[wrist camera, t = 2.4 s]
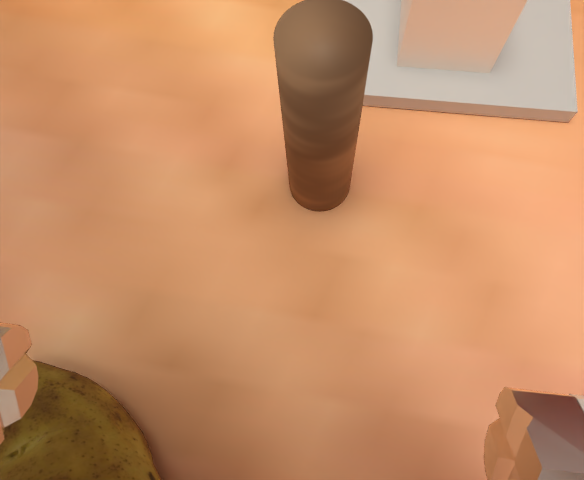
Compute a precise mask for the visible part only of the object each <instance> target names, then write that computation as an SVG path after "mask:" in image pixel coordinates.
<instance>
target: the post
mask: <svg viewBox="0 0 584 480" xmlns="http://www.w3.org/2000/svg"><path fill="white" fill-rule="evenodd" d="M372 42H373V32H372V28H371V25H370V22H369V20H368V19H367V17H366V16H365V15H364V14H363V12H362V11H361V10H359V9H358V8H357V7H355V6H354V5H352V4H350V3H348V2H346V1H343V0H305V1H302V2H300V3H297V4H296V5H294V6H292V7H291V8H290V9H288V10H287V11H286V12H285V13H284V14H283V15H282V16H281V18H280V19H279V21H278V22H277V25H276V27H275V31H274V49H275V58H276V67H277V76H278V85H279V94H280V103H281V112H282V121H283V130H284V139H285V148H286V157H287V166H288V175H289V184H290V190H291V193H292V195H293V197H294V199H295V200H296V201H297V202H298V203H299V204H300V205H301V206H303V207H305V208H307V209H309V210H313V211H326V210H330V209H333V208H335V207H336V206H338V205H339V204H340V203H342V202H343V200H344V199H345V198H346V196H347V194H348V192H349V188H350V181H351V175H352V169H353V162H354V156H355V150H356V143H357V137H358V131H359V124H360V118H361V112H362V105H363V99H364V93H365V86H366V80H367V74H368V67H369V61H370V55H371V48H372Z"/></svg>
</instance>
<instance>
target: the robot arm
mask: <svg viewBox="0 0 584 480" xmlns="http://www.w3.org/2000/svg"><path fill="white" fill-rule="evenodd" d="M31 345H32V343H31V340H30V336H29V332H28V329H26V328H24V327H22V326H20V325H15V324H8V323H2V322H0V444H1V443H2V442H3V440H4V439H5V436H4V427H6V426H8V425H10V424H12V423H14V422H15V421H17V420H19V419H21V418H22V417H23V415H24V414H25V413H26V411H27V410H28V409H29V407H30V406H31V404H32V402H33V399H34V397H35V394H36V391H37V389H38V371H37V366H36V364H35V363H34V362H33V361H32V360H31V359H30V358H29V357H28V356H27V354H26V353H27V351H28V350H29V348H30V347H31ZM496 408H497V411H498V414H499V417H500V418H499V419H498V420H496V421H495V422H493V423H492V424H490V425H489V427H488V431H487V434H486V438H485V444H484V464H485V472H486V476H487V480H584V396H582V395H573V394H569V395H566V394H558V393H550V392H542V391H533V390H525V389H517V388H509V387H504V388H503V390H502V391H501V392H500V394H499V397H498V400H497V402H496Z"/></svg>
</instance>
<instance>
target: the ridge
mask: <svg viewBox="0 0 584 480" xmlns="http://www.w3.org/2000/svg"><path fill="white" fill-rule="evenodd" d="M343 1H346V2H348V3H350V4H352V5H354V6H355V7H357V8H358V9H359V10H361V11H362V12H363V14H364V15H365V16H366V17H367V19H368V20H369V22H370V25H371V28H372V32H373V42H372V48H371V55H370V61H369V67H368V74H367V80H366V86H365V93H364V99H363V106H375V107H387V108H399V109H411V110H423V111H435V112H448V113H460V114H472V115H484V116H496V117H508V118H521V119H533V120H545V121H557V122H569V121H570V120H571V119H572V118H573V117H574V115H575V114H576V113H577V97H576V82H575V67H574V52H573V37H572V22H571V6H570V0H343Z"/></svg>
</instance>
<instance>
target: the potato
mask: <svg viewBox="0 0 584 480" xmlns="http://www.w3.org/2000/svg"><path fill="white" fill-rule="evenodd" d="M32 361H33V360H32ZM33 362H34V363H35V364H36V366H37V371H38V389H37V391H36V394H35V397H34V399H33V402H32V404H31V406H30V407H29V409H28V410H27V411H26V413H25V414H24V415H23V417H22V418H21V419H19V420H17V421H15V422H14V423H12V424H10V425H8V426H6V427H4V436H5V439H4V440H3V442H2V443H1V444H0V480H161V478H160V476H159V474H158V472H157V470H156V468H155V466H154V464H153V459H152V455H151V452H150V450H149V447H148V444H147V442H146V439H145V437H144V435H143V433H142V431H141V430H140V429H139V427H138V426H137V425H136V423H135V422H134V420H133V419H132V418H131V417H130V416H129V414H128V413H127V412H126V411H125V409H124V408H123V407H122V406H121V405H120V404H119V403H118V402H117V401H116V399H115V398H114V397H113V396H111V395H110V394H109V393H108V392H107V391H106V390H105V389H103V388H102V387H101V386H99V385H98V384H97V383H95V382H93V381H92V380H90V379H89V378H87V377H84V376H81V375H79V374H77V373H75V372H71V371H67V370H64V369H61V368H58V367H55V366H52V365H48V364H45V363H42V362H39V361H33Z"/></svg>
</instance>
